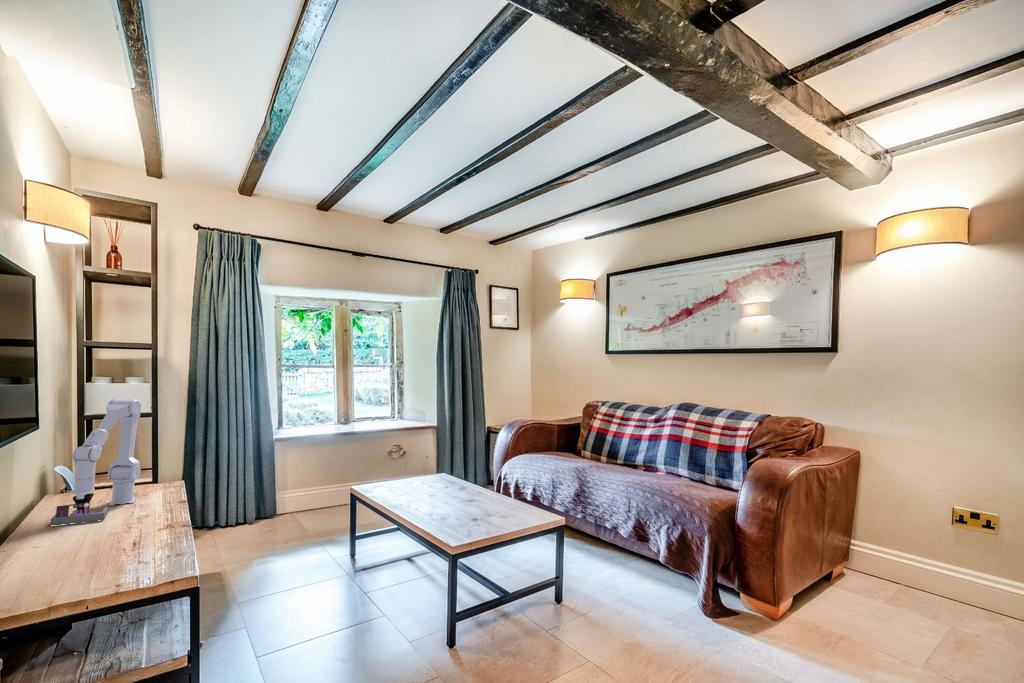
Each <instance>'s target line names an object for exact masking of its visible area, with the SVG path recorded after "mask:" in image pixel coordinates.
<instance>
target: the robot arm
mask: <svg viewBox="0 0 1024 683" xmlns="http://www.w3.org/2000/svg"><path fill="white" fill-rule="evenodd" d="M105 409H106V410H105V411H106V414H105V415H104V417H103V419H102V421H101V422H100V424H99V426H98V428H97V429H93V430H91V432H90V434H89V435H88V436H87V438H86V439H85V441H84V442H83V444H82V445H80V446H79V447H77V448H76V449H74V451H73V454H72V457H71V458H72V460H73V462H74V463H73V465H74V467H75V471H74V472H75V474H74V487H73V489H72V490H70V491H69V492H68V493H69V494H74V496H72V500H73V503H74V504H80V503H90V504H91V501H92V499H93V497H94V495H95V493H93V492H95V490H96V489H95V482H96V472H97V471H96V469H97V468H96V467H97V461H98V460H99V459H100V458H101V455H102V451H103V446H104V445H105V443H106V442H107V440H108V439H109V438H110V434H109V432H110V430H111V429H112V428H113V426H114V425H115V424H116V423H117V421H118V420H120V421H121V428H120V437H119V443H118V445H119V446H118V454H117V458H116V459H115V460H114V461H113V462H111V463H110V467H109V470H108V472H107V477H108V480H110V483H112V488H111V489H112V492H111V500H110V502H109V504H108V506H109V505H110V506H116V505H115V504H120V505H127V504H126V503H129V504H133V503H134V502H135V501H136V499H137V498H136V497H134V496H135V483H136V481H137V479H138V478H140V475H141V472H142V469H141V461H139V460H137V459H136V458H135V457H134V456H135V455H134V454H135V446H136V437H137V429H138V419H140V418H141V411H142V403H141V402H140V401H139V399H115V398H114V399H113V398H112V399H110V400H109V401H108V402H107V405H106V407H105ZM135 498H136V499H135ZM83 505H84V504H83ZM77 509H80V510H81V509H82V512H83V513H82V514H84V506H83V507H81V508H79V507H77V508H76V510H77Z"/></svg>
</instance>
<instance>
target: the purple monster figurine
mask: <svg viewBox="0 0 1024 683" xmlns="http://www.w3.org/2000/svg"><path fill="white" fill-rule="evenodd" d="M83 504H84V505H83ZM90 505H91V502H90V503H80V504H75V503H73V504H65V505H57V506H56V512H55V514H56V517H65V516H74V515H82V513H83V512H82V509H81V510H80V509H77V507H79V508H81V507H83V506H84V514H90ZM70 507H72V508H73V509H74V510H71V512H72V513H70V511H69V510H70Z"/></svg>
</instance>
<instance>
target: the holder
mask: <svg viewBox="0 0 1024 683" xmlns="http://www.w3.org/2000/svg"><path fill="white" fill-rule="evenodd" d="M108 510H109V507H108V506H106V507H104V509H103V510H102V512H101V511H100V512H93V513H89V514H82V515H74V516H70V515H68V516H65V517H56V513H55V514H54V515H53V516H52V517H50V523H49V524H50V525H49V527H50V526H51V525H61V524H70V523H81V524H83V523H82V522H89V523H92V522H91V521H97V522H99V521H98V520H104V519H106V518H107V516H108V512H109V511H108ZM106 515H107V516H106ZM105 517H106V518H105ZM104 521H105V520H104Z"/></svg>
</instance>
